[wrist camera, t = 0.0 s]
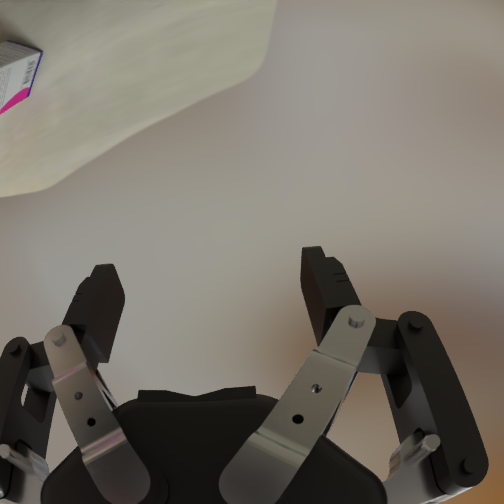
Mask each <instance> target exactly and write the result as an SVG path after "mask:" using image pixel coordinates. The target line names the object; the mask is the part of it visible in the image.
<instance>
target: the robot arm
mask: <svg viewBox="0 0 504 504" xmlns="http://www.w3.org/2000/svg"><path fill="white" fill-rule="evenodd" d="M300 281H301V289H302V293H303V296H304V300H305V303H306V307H307V310H308V314H309V317H310V321H311V324H312V328H313V331H314V335H315V338H316V342H317V345H318V349H317V350H312V351H311V352H310V354H309V356H308V357H307V358H306V360H305V362H304V363H303V365H302V366H301V368H300V369H299V371H298V372H297V374H296V375H295V377H294V379H293V380H292V382H291V383H290V385H289V386H288V388H287V389H286V391H285V392H284V394H283V395H282V396H281V398H280V399H279V400H278V399H275V398H273V397H270V396H266V395H261V394H256V388H255V386H248V387H235V388H224V389H221V390H217V391H214V392H210V393H207V394H203V395H199V396H190V395H185V394H180V393H176V392H171V391H166V390H139V391H138V398H137V399H133V400H130V401H128V402H126V403H124V404H122V405H120V406H119V405H118V404H117V402H116V400H115V399H114V397H113V395H112V394H111V392H110V390H109V388H108V387H107V385H106V383H105V381H104V380H103V378H102V376H101V374H100V372H99V371H98V369H97V367H98V363H108V362H109V358H110V354H111V350H112V346H113V342H114V339H115V335H116V331H117V328H118V324H119V321H120V317H121V314H122V311H123V307H124V303H125V294H124V290H123V288H122V285H121V282H120V280H119V277H118V274H117V272H116V269H115V267H114V265H113V264H101V265H96V266H95V267H94V269H93V271H92V273H91V276H90V277H86V279H85V280H84V281H83V282H82V283H81V284H80V285H79V287H78V289H77V291H76V295H75V296H74V297H73V300H72V302H71V304H70V306H69V308H68V311H67V313H66V315H65V318H64V320H63V322H62V325H59V326H56V327H54V328H53V329H51V330H50V331H49V332H48V333H47V335H46V336H45V339H44V341H42V342H39V343H35V344H31V345H30V344H29V343H28V341H27V340H26V339H25V338H24V337H16V338H14V339H12V340H11V341H9V342H8V343H7V345H6V346H5V348H4V350H3V353H2V355H1V357H0V502H2V503H4V504H439V503H441V502H443V501H445V500H448V499H450V498H452V497H454V496H456V495H458V494H460V493H462V492H464V491H466V490H468V489H470V488H472V487H474V486H476V485H477V484H479V483H480V482H481V481H482V480H483V479H484V477H485V476H486V474H487V471H488V465H489V464H488V457H487V454H486V451H485V448H484V445H483V442H482V439H481V436H480V433H479V430H478V427H477V425H476V422H475V419H474V417H473V414H472V411H471V409H470V406H469V404H468V401H467V399H466V396H465V394H464V391H463V389H462V386H461V384H460V382H459V379H458V377H457V375H456V372H455V370H454V368H453V366H452V364H451V361H450V359H449V357H448V355H447V353H446V351H445V348H444V346H443V344H442V342H441V340H440V338H439V336H438V334H437V332H436V330H435V328H434V326H433V324H432V322H431V321H430V319H429V318H428V317H427V316H426V315H424V314H422V313H420V312H416V311H408V312H405V313H403V314H401V315H400V317H399V319H398V321H396V320H386V319H379V318H376V317H375V316H374V314H373V313H372V312H371V311H370V310H369V309H367V308H366V307H363V306H362V305H361V303H360V301H359V298H358V296H357V294H356V292H355V290H354V288H353V286H352V283H351V282H350V280H349V277H348V275H347V274H346V271H345V269H344V267H343V265H342V263H340V262H339V261H338V260H337V259H336V258H334V257H325V254H324V252H323V250H322V248H321V246H314V247H303V248H302V256H301V277H300ZM358 372H364V373H374V374H381V377H382V381H383V384H384V387H385V391H386V394H387V397H388V400H389V404H390V408H391V411H392V415H393V419H394V422H395V426H396V430H397V434H398V437H399V441H400V446H399V447H398V448H397V449H396V450H395V451H394V452H393V453H392V455H391V457H390V462H389V466H390V470H389V475H388V478H387V479H386V481H384V482H381V480H380V479H379V478H378V477H377V476H376V475H375V474H374V473H373V472H372V471H370V470H369V469H367V468H366V467H365V466H363V465H362V464H361V463H359V462H358V461H357V460H355V459H354V458H352V457H351V456H350V455H349V454H347V453H346V452H345V451H344V450H342V449H341V448H340V447H338V446H337V445H336V444H335V443H333V442H332V441H331V440H329V439H328V438H327V437H326V436H327V434H328V433H329V431H330V429H331V427H332V426H333V423H334V422H335V420H336V418H337V416H338V414H339V411H340V409H341V407H342V405H343V403H344V401H345V399H346V397H347V395H348V393H349V391H350V389H351V387H352V385H353V383H354V381H355V379H356V377H357V374H358ZM25 384H26V385H27V386H28V391H27V394H26V398H25V402H24V405H23V406H22V404H21V396H22V392H23V389H24V385H25ZM57 398H58V400H59V403H60V405H61V408H62V410H63V412H64V415H65V417H66V419H67V422H68V424H69V426H70V429H71V431H72V433H73V435H74V437H75V440H76V442H77V444H78V446H77V447H76V448H75V449H74V450H73V451H72V452H71V453H70V454H69V455H68V456H67V457H66V458H65V459H64V460H63V461H62V462H61V463H60V464H59V465H58V466H57V467H56V468H55V469H54V470H53V471H52V472H51V473H50V472H49V467H48V464H47V462H46V461H45V458H46V451H47V445H48V439H49V433H50V428H51V422H52V417H53V412H54V407H55V403H56V399H57Z"/></svg>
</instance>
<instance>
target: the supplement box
mask: <svg viewBox="0 0 504 504" xmlns="http://www.w3.org/2000/svg"><path fill="white" fill-rule="evenodd" d="M42 54H43V51H40V50H37V49H34V48H31V47H28V46H25V45H21V44H19V43H15V42H12V41H5V42H2V43H0V114H2V113H3V112H5V111H6V110H8V109H9V108H11V107H12V106H14V105H15V104H17V103H19V102H20V101H22V100H24V99H25V98H27V97H28V96H29V94H30V90H31V87H32V84H33V81H34V77H35V74H36V71H37V68H38V65H39V62H40V59H41V57H42Z"/></svg>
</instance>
